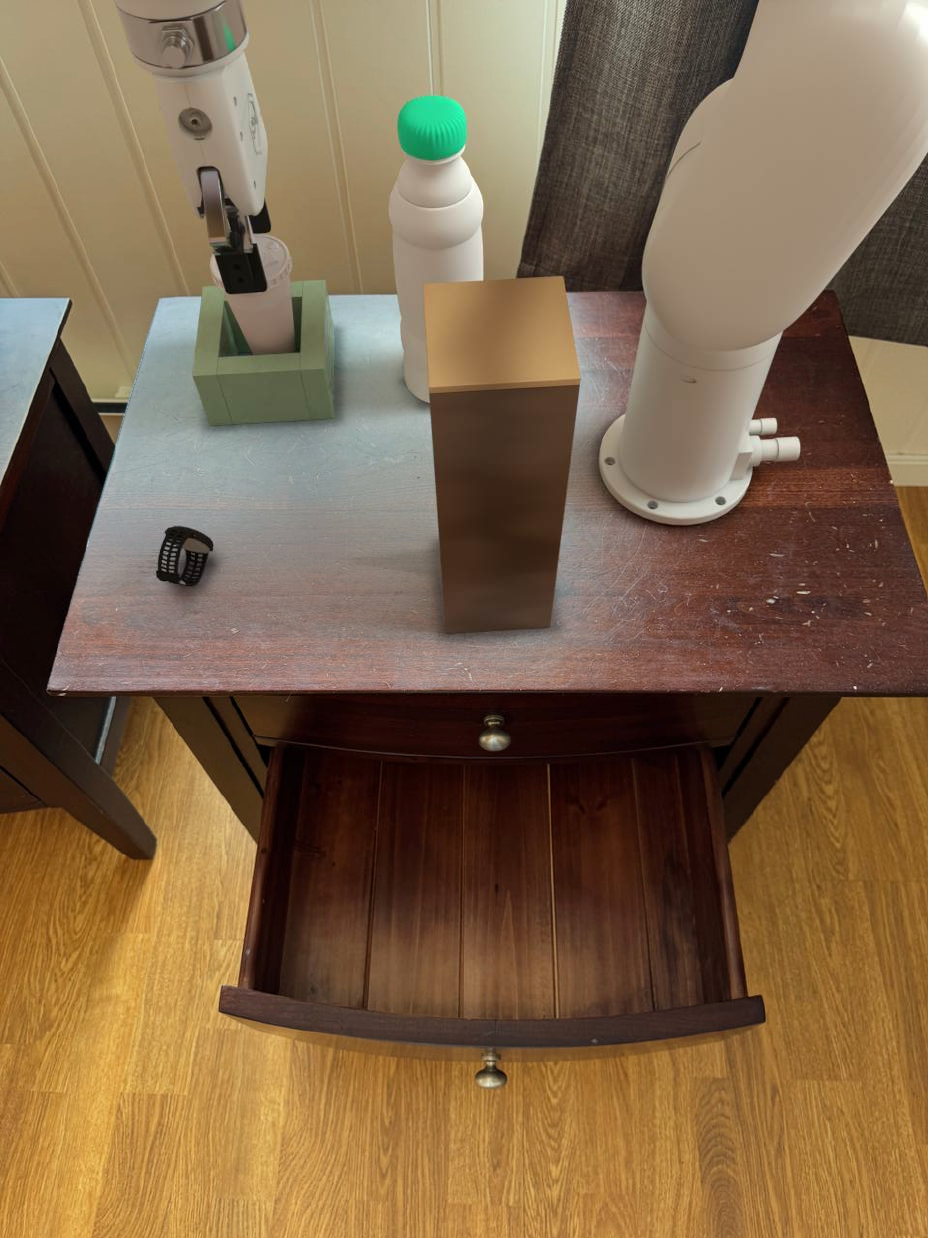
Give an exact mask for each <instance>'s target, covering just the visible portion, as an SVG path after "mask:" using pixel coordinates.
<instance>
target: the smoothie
mask: <svg viewBox="0 0 928 1238" xmlns="http://www.w3.org/2000/svg"><path fill="white" fill-rule="evenodd" d="M247 217H248V215H247ZM248 222H249V228H250V233H251V239H252V243H257V246H258V249H259V253H260V257H261V261H262V265H263V269H264V273H265V276H266V280H267V290H266V291H265V292H259V293H245V294H228V293H226V291H225V288H224V285H223V282H222V279H221V276H220V272H219V269H218V266H217V263H216V259H215V256H214V254H211V257H210V261H209V268H210V272H211V279H212V280H213V282H214V284H215V286H218V287H219V288H220V289H221V290H222V291H223V293H224V295H225V297H226V299H227V301H228V303H229V305H230V307H231V309H232V312H233V314H234V316H235V318H236V320H237V322H238V324H239V326H240V328H241V330H242V332H243V335H244V337H245V339H246V341H247V343H248V345H249V347H250V349H251V351H252V352H251V354H252V355H267V354H284V353H297V349H296V344H295V333H294V322H293V310H292V299H291V288H290V282H291V277H290V275H291V272H292V268H293V262H292V257H291V255H290V251H289V248H288V247H287V245H286V244H285V242H284V241H282V240H280V239H279V238H277V237H276V236H272V235H269V234H266V233H261V234H253V232H252V228H251V224H250V221H249V217H248Z"/></svg>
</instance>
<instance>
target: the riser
mask: <svg viewBox="0 0 928 1238" xmlns="http://www.w3.org/2000/svg"><path fill="white" fill-rule="evenodd" d="M566 290H567V289H566V283H565V278H564V276H563V275H557V276H556V275H554V276H539V277H538V276H536V277H519V278H518V277H517V278H503V279H501V278H500V279H485V280H484V279H483V280H482V281H465V282H447V283H429V284H423V300H424V317H425V334H426V350H427V367H428V384H429V399H430V403H429V411H430V426H431V427H430V428H431V439H432V440H431V442H432V457H433V470H434V487H435V500H436V502H435V503H436V513H437V515H436V516H437V517H436V518H437V530H438V544H439V545H438V546H439V559H440V576H441V589H442V590H441V591H442V606H443V619H444V621H443V622H444V634H463V633H477V632H495V631H509V630H511V631H512V630H525V629H527V630H528V629H541V628H542V629H544V628H550V627H551V625H552V617H553V609H554V603H555V601H554V600H555V592H556V585H557V577H558V576H557V575H558V568H559V561H560V553H561V545H562V544H561V543H562V535H563V526H564V519H565V511H566V504H567V503H566V502H567V494H568V486H569V479H570V470H571V462H572V455H573V447H574V446H573V445H574V438H575V429H576V421H577V413H578V404H579V397H580V387H581V381H582V376H581V371H580V367H579V366H580V365H579V359H578V354H577V347H576V342H575V341H576V340H575V335H574V331H573V324H572V318H571V313H570V307H569V301H568V295H567V291H566Z"/></svg>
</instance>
